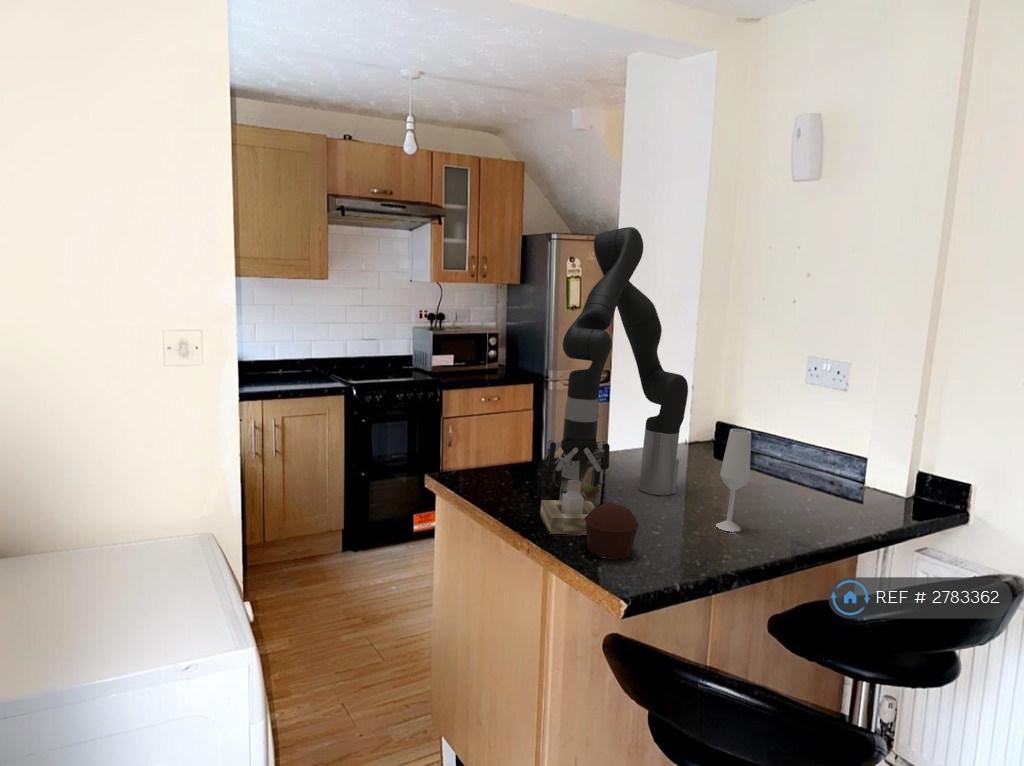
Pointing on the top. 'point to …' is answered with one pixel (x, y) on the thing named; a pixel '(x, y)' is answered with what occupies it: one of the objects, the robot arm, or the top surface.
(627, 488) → the top surface
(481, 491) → the top surface
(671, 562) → the top surface
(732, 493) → the champagne flute
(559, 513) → the birch holder
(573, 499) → the pepper shaker
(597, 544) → the muffin
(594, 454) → the coffee box
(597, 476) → the robot arm
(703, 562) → the top surface
